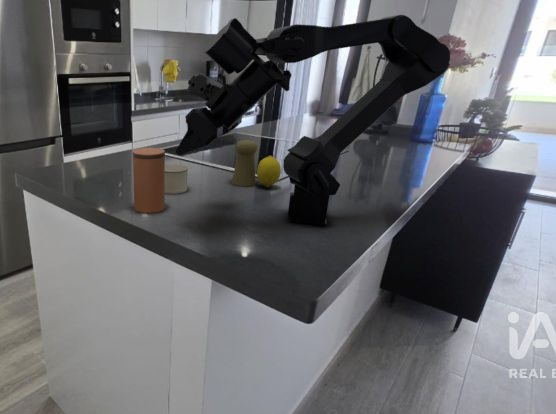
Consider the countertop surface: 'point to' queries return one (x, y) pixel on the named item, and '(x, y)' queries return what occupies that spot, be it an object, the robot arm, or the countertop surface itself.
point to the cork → (245, 164)
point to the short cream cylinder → (175, 178)
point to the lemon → (268, 171)
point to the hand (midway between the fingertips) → (185, 148)
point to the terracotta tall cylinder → (149, 179)
